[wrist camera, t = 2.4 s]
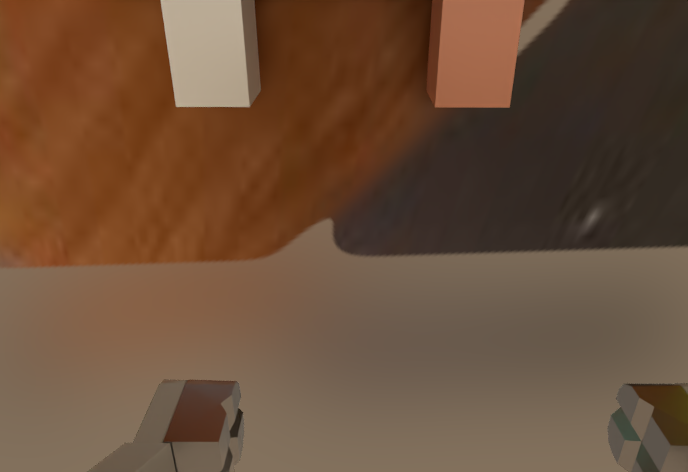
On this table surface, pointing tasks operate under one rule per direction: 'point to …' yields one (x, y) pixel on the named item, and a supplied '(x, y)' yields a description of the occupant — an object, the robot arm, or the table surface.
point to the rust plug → (473, 52)
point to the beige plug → (212, 52)
